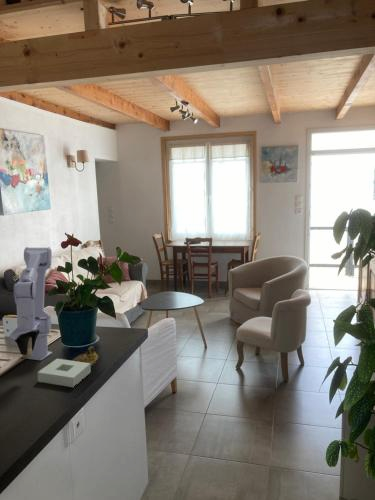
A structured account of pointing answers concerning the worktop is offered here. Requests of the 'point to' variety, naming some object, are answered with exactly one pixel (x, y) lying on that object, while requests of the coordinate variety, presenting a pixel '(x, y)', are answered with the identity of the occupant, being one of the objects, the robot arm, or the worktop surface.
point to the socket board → (64, 372)
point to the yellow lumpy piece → (88, 356)
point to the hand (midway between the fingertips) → (27, 352)
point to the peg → (29, 350)
